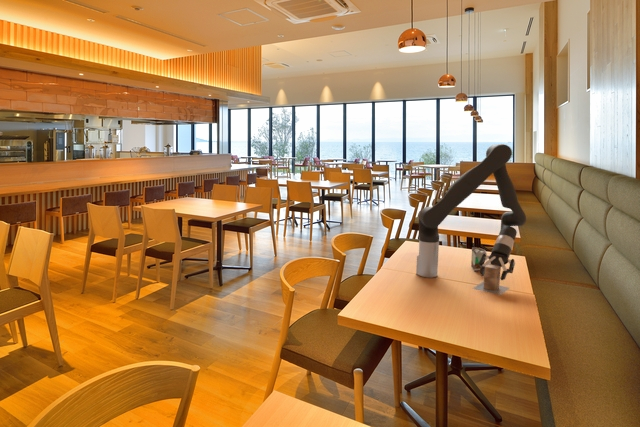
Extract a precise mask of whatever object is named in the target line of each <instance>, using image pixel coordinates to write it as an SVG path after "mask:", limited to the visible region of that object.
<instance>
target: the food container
mask: <svg viewBox="0 0 640 427" xmlns="http://www.w3.org/2000/svg"><path fill="white" fill-rule="evenodd" d="M483 254H485V255H487V251H486V250H485V249H484V248H480V247H475V246H474V247H471V261H470V262H471V265H470V266H471V268H472V270H473V272H475V273H476V272H479V273H480V271H481V268H482V267H480V265H479V262H480V260H481V257H482V255H483ZM487 256H488V255H487Z"/></svg>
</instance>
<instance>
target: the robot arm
mask: <svg viewBox="0 0 640 427" xmlns="http://www.w3.org/2000/svg"><path fill="white" fill-rule="evenodd" d="M485 154H486V155H485V156H486V157H485V158H484V159H483V160H482V161H480V163H479V164H477V165H475V166H474V167H471V169H469V170H467V171H466V172H465V173H463V174H461V176H459V177H458V178H457V179H456V180H455V181H454V182H453V183H452V184H451V185H450V186H449V188H448V190H447V191H446V193H445V194H444V195H443V197H442V198H441V199H440V200H439V201H437V203H436V204H435V205H432V206H426V207H423V208H422V209H421V210H420V212H419V215H418V235H419V236H418V238H419V241H418V254H417V255H416V266H415V267H416V268H415V272H416V273H415V274H416V275H418V276H420V277H422V278H429V279H430V278H436V277H437V276H438V268H439V250H440V248H439V247H440V234H439V225H441V224H442V222H444V221H445V219H447V217H448V215H449V214H451V213H452V212H453V210H454V209H455V208H457V207H458V206H459V205H460V204H462V203H463V202H464V201H465V200H466V199H467V198H469V197H470V196H471V195H472V194H473V193H474V192H475V191H476V190H477V189H478V188H479V187H480V186H481V185H482V184H483V183H484V182H485V181H487V179H488V178H490V176H491V175H492V174H493V176H494V177H493V178H494V180H495V183H496V186H497V189H498V190H497V191H498V194H499V199H500V203H501V207H503V208H505V209H510V210H511V211H505V212H503V213H502V215H501V216H500V231H499V232H498V236H497V237H496V240H495V242H494V243H493V246H492V250H491V252H490V254H489V255H485V254H483V255H482V257H481V260H480V262H479V265H480V267H482V268H481V271H480V272H479V273H480V276H482V277H484V274H485V266H487V265H489V264H491V265H497V266H501V268H502V269H503V271H502V273H501V274H500V281H504V280H506V279H507V276H508V275H507V274H513V272H514V268H515V265H516V261H515V259H514V258H512V259H509V258H510V256H511V253H512V250H513V247H514V243H515V240H516V237H517V233H518V231H517V229H516V228H515V227H521V226H524V225H525V224H526V221H527V215H526V213H525V211H524V210H523V208H522V206H521V205H520V202H519V199H518V196H517V192H516V188H515V186H514V184H513V182H512V179H511V178H510V174H509V173H508V169H507V166H506V164H507V163H508V162H510V160H511V158H512V155H513V150H512V148H511V147H510V146H509V145H507V144H504V143H498V144H497V143H496V144H495V143H494V144H492V145H490V146H489V147H488V148H487V150H486V152H485ZM507 264H509V266H508V268H507V267H506V265H507Z"/></svg>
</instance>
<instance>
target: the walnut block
mask: <svg viewBox="0 0 640 427" xmlns="http://www.w3.org/2000/svg"><path fill="white" fill-rule="evenodd" d="M501 268H502V267H501V266H497V265H491V264H490V263H489V265H487V266H485V274H484V276H483V277H484V278H483V282H484V287H483V288H484V289H489V290H493V291H496V290H497V289H498V288H499V286H500V282H501Z"/></svg>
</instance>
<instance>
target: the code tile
mask: <svg viewBox="0 0 640 427" xmlns="http://www.w3.org/2000/svg"><path fill="white" fill-rule="evenodd" d="M483 287H484V281H482V282H481V283H479V284H477V285H476V286H474V287H473V288H472V289H473V290H477V291H480V292H481V291H482V292H486V293H489V294H494V295H497V296H502V295H503V294H504V293H505V292H507V291H508V290H510V287H508V286H503V285H499V288H498V289H497V290H496V291H493V290H489V289H484V288H483Z"/></svg>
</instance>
